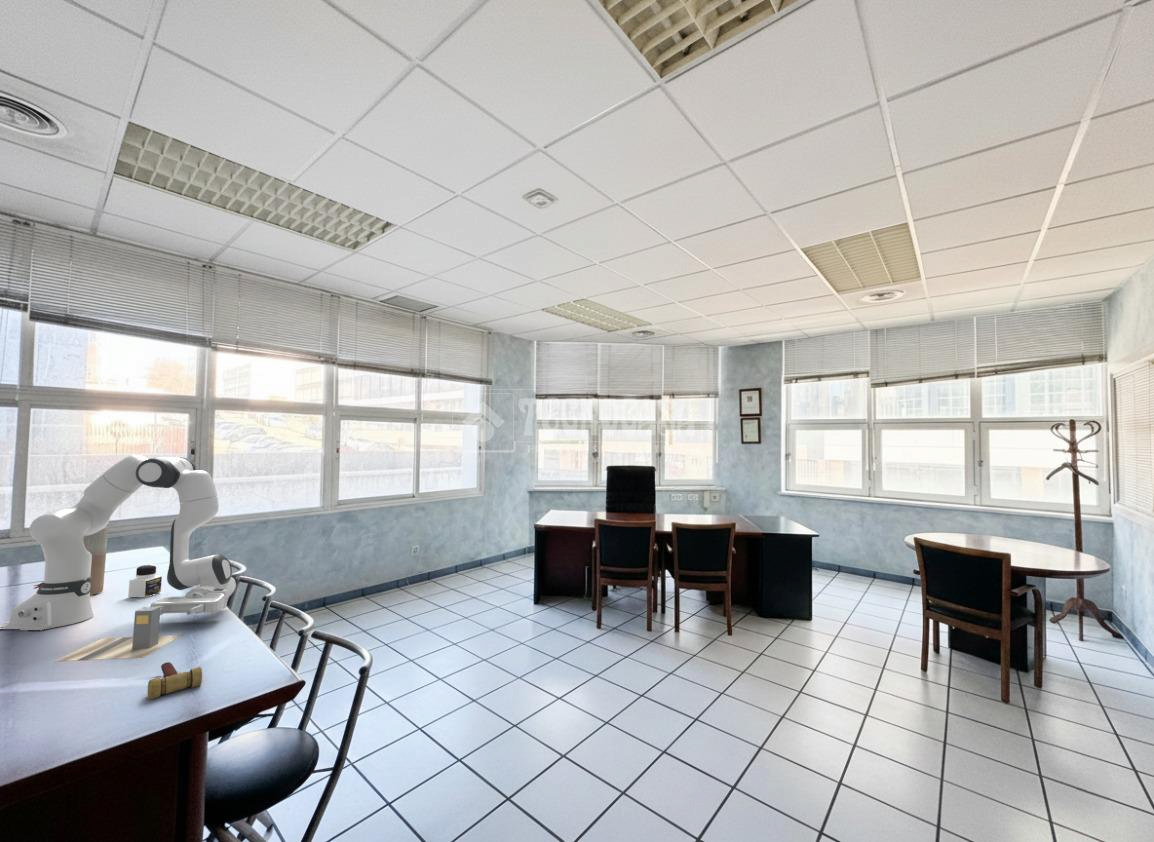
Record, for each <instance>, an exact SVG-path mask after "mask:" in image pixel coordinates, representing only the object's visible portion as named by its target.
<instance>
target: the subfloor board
mask: <svg viewBox="0 0 1154 842" xmlns="http://www.w3.org/2000/svg"><path fill="white" fill-rule="evenodd" d="M181 636H183V635H182V634H174V635H159V637H158V644H156V645H155V646H153V647H151V648H149V649H132V644H133V636H125V637H102V638H101V639H99V640H95V641H94V642H91V643H90V644H87V645H85V646H84V647H81V648H79V649H77V650H75V651H73V652H71V653H69V654H67V655H64V656H63V657H60V658H58V659H56V660H54V661H53V662H72V661H95V660H96V661H97V660H99V661H101V660H118V659H136V658H137V659H138V658H145V657H147V656H150V654H152V653H154V652H156V651H157V650H160V649H162V647H164V646H166V645H168V644H170V643H171V642H174V641H175V640H176V639H178V638H180V637H181Z"/></svg>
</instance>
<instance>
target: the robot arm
mask: <svg viewBox="0 0 1154 842" xmlns="http://www.w3.org/2000/svg"><path fill="white" fill-rule="evenodd" d="M143 485H144V486H147V487H150V488H156V489H157V488H159V489H160V488H162V489H170V488H172V489H174V490H175V491H176V492H177V495H178V501H179V512H178V515H177V517H176V518H175V519H174V520H173V521H172V522H171V528H170V529H171V530H170V540H169V565H168V570H167V574H166V575H167V576H166V580H167V584H168V585H169V586H171V588H173V589H175V590H177V591H184V590H186V589H190V588H192V589H190V590H189V591H188V592H187V593H185V595H184V596H168V597H167V596H166V597H163V598H161V599H158V600H155V601H152V602H151V603H150V607H161V609H160V616H162V615H163V614H164V615H165V614H186V616H191V615H192V616H193V615H195V614H201V613H216V612H219V611H221V610H224V609H226V608H227V605H228V604H227V603H228V598H230V596H232V594H233V593H234V591H235V590H236V587H237V583H236V580H235V578H234V577H233V576H232V574H233V571H232V570H233V568H232V564H231V561H230V560H229V559H228V558H227V557H226V556H224V555H223V554H220V553H217V554H212V555H206V556H204V557H198V558H193V559H190V557H189V554H190V553H189V552H190V551H189V547H190V536H191V535H192V533H193V532H194V531H196V530H197V529H198V528H201V527H202V526H203V525H205V524H207V523H208V522H210V521H211V520H212V519H214V517H216V515H217V513H218V512H219V499H218V494H217V493H218V492H217V489H216V486H215V483H214V481H213V478H212V475H211V474H210V473H209V472H208V471H205V470H201V469H199V470H198V469H197V466H196V464H195V463H194V461H192V460H191V459H189V458H186V457H181V456H180V457H179V456H178V457H177V456H162V457H159V456H157V457H151V458H148V457H146V456H143V455H141V454H132V455H128V456H126V457H124V458H122V459H121V460H119V461H118V462H116V463H115V464H113V465H112V466H110V467H109V468H108V469H107V470H106V471H105V472H103V473H102V474H101V475H100V476H99V477H98V478H97V477H96V479H95V480H94V481H93V482H92V483H91V484H89V485H88V486H87V487H85V489H84V491H83V496H82V497H81V499H80V500H79V501H78V503H75V505H73V506H71V507H69V508H64V509H58V510H57V509H56V510H53V511H49V512H46V513H44V514H42V515H39V516H37V518H35V519H34V520H33V521H32V522H31V523H30V526H29V528H28V529H29V531H28V532H29V534H30V536H31V538H32V539H34V540H35V541H36V542H37V543H38V544H39V545H40V547H41V549H42V553H43V556H44V557H43V558H44V572H43V573H44V576H43V581H42V582H40V583H38V584H35V585H33V590H34V589H37V590H36V592H35V594H33V595H32V596H30V597H29V598H27V599H26V600H24V601H22V602H21V603H19V604H17V605H16V606H15V607H14V608H13V609H12V611H11V612H10V613H11V614H9V615H10V616H9V620H8V621H4V622H2V623H0V628H2V629H4V628H5V629H20V630H19V631H28V630H40V631H43V630H44V629H45V630H48V629H53V628H56V627H57V628H58V627H65V626H68V625H72V624H77V623H81V622H83V621H87V620H89V619H91V618H93V617H94V616H95V615H94V613H93V609H92V604H91V596H90V589H91V584H92V576H90V574H91V562H92V555H91V553H90V552H89V551H87V550H86V548H85V545H84V542H83V537H85V536H89V535H92V534H94V533H96V532H98V531H100V530H102V529H103V528H105V527H106V526H107V525H108V526H109V523H110V522H111V521H110V520H111V516H113V514H114V513H115V511H116V510H117V509H118V508H119V507H120V506H121V505H122V504H123V503H124V502H126V500H127V499H128V498H130V497H131V496H133V494H134V493H135V492H136V491H137V490H139V489H140V488H141V487H142V486H143ZM196 586H197V587H196ZM193 587H194V588H193ZM93 615H94V616H93ZM92 616H93V617H92ZM45 630H44V631H45Z"/></svg>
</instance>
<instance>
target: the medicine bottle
mask: <svg viewBox="0 0 1154 842" xmlns="http://www.w3.org/2000/svg"><path fill="white" fill-rule="evenodd" d="M157 567H158V566H157V565H155V564H145V565H140V566H138V567H137V568H136V574H135V578H132V579H129V580H128V583H129V584H128V595H127V597H147V596H150V595H153V594H156V593H159V592H162V578H163V577H162V575H157ZM159 594H160V593H159ZM156 595H157V594H156ZM153 596H154V595H153ZM150 597H151V596H150ZM147 598H148V597H147Z"/></svg>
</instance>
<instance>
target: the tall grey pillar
mask: <svg viewBox="0 0 1154 842" xmlns="http://www.w3.org/2000/svg"><path fill="white" fill-rule="evenodd" d="M160 609H161V607H151V606H143V607H141V608H139V609H137V610H135V611H134V620H133V631H132V632H133V635H132V637H133V644H132V649H149V648H151V647H153V646H155V645H156V644H158V637H159V636H160V635H159V634H160V622H161V615H160Z"/></svg>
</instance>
